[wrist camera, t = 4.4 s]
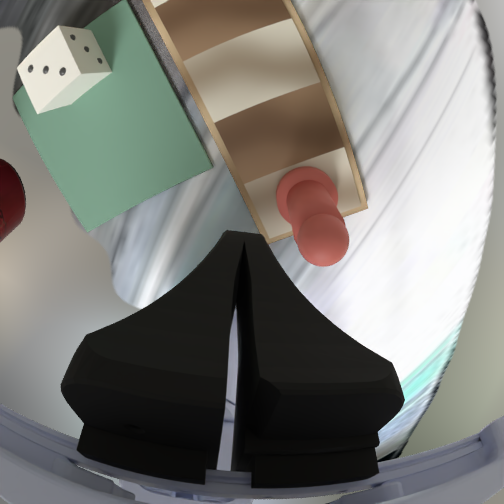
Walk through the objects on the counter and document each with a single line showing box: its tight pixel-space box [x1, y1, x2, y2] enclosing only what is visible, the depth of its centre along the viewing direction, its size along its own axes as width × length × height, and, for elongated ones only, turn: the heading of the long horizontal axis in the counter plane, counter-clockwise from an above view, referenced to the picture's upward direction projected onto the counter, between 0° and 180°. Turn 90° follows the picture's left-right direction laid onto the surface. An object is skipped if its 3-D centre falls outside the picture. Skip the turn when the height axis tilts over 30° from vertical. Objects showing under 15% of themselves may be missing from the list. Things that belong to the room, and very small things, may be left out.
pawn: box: [276, 166, 349, 267], centre depth 16 cm, size 4×4×7 cm
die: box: [17, 25, 112, 114], centre depth 12 cm, size 4×4×4 cm
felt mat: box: [13, 0, 213, 233], centre depth 17 cm, size 14×12×1 cm
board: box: [142, 0, 368, 244], centre depth 15 cm, size 24×8×1 cm, turn 23°
